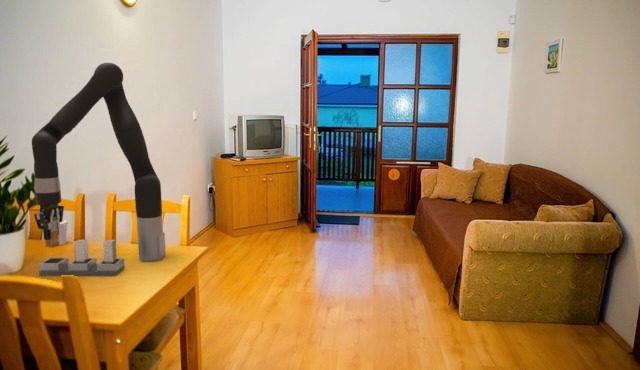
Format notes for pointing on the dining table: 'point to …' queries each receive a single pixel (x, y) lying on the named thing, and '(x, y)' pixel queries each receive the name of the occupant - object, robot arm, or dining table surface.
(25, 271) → the dining table surface
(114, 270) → the rail
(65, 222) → the smoothie
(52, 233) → the supplement box
